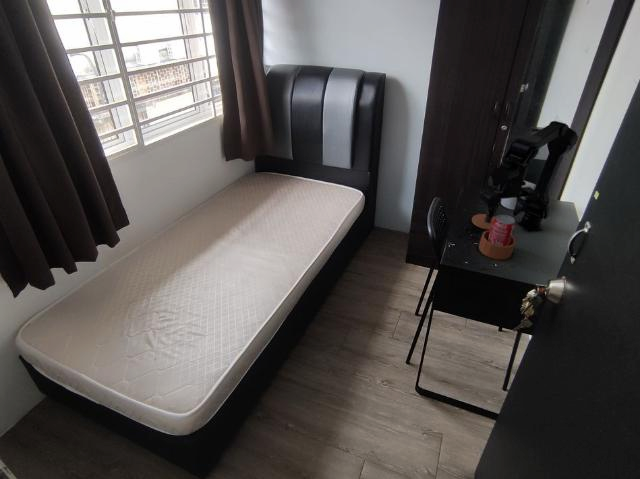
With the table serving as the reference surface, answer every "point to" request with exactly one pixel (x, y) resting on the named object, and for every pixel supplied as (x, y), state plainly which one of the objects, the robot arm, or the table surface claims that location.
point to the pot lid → (483, 221)
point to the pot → (495, 247)
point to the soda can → (501, 230)
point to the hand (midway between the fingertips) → (502, 216)
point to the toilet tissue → (511, 202)
